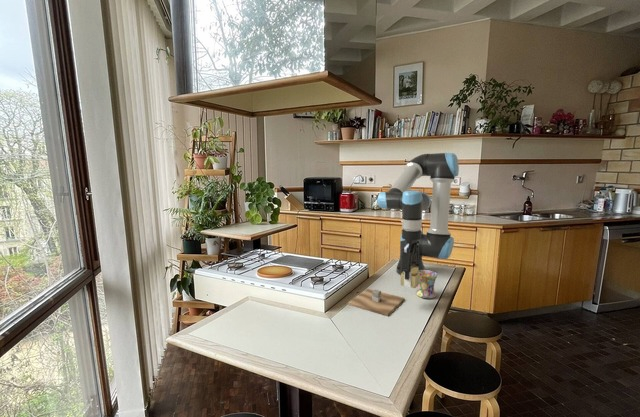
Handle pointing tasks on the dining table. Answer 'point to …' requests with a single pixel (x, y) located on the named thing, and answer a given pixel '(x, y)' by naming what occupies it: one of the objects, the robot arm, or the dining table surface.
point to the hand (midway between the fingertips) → (410, 283)
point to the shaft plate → (376, 301)
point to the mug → (426, 284)
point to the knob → (412, 277)
